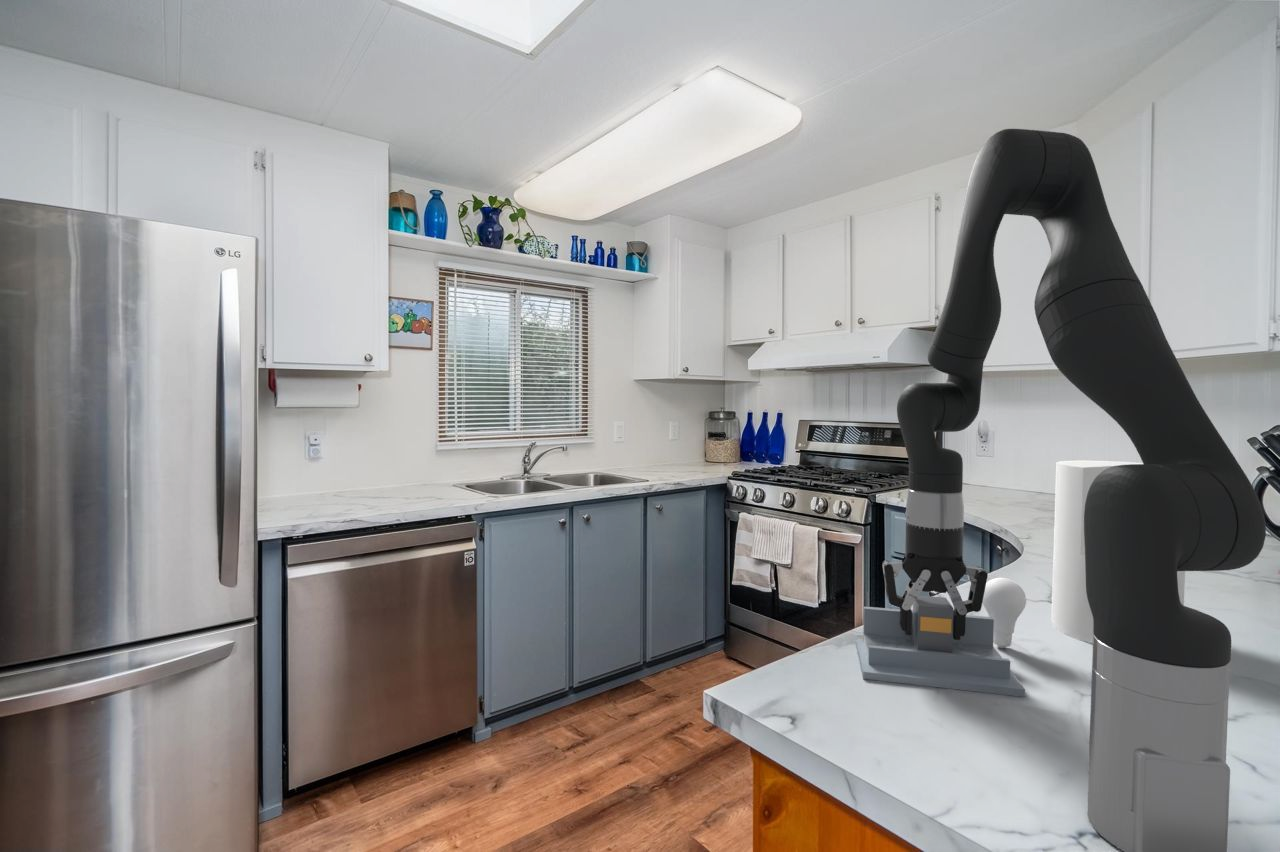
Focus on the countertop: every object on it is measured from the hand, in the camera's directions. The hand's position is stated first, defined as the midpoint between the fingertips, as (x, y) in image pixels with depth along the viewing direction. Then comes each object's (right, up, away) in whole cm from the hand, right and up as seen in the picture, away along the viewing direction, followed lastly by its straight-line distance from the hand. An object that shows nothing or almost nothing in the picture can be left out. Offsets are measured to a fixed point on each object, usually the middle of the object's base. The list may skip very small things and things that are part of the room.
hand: (931, 635), depth 90 cm
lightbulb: (+14, -4, +7) cm, 16 cm away
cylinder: (+37, -4, +13) cm, 39 cm away
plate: (0, -4, 0) cm, 4 cm away
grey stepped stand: (0, -5, -1) cm, 5 cm away
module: (0, -2, 0) cm, 2 cm away
